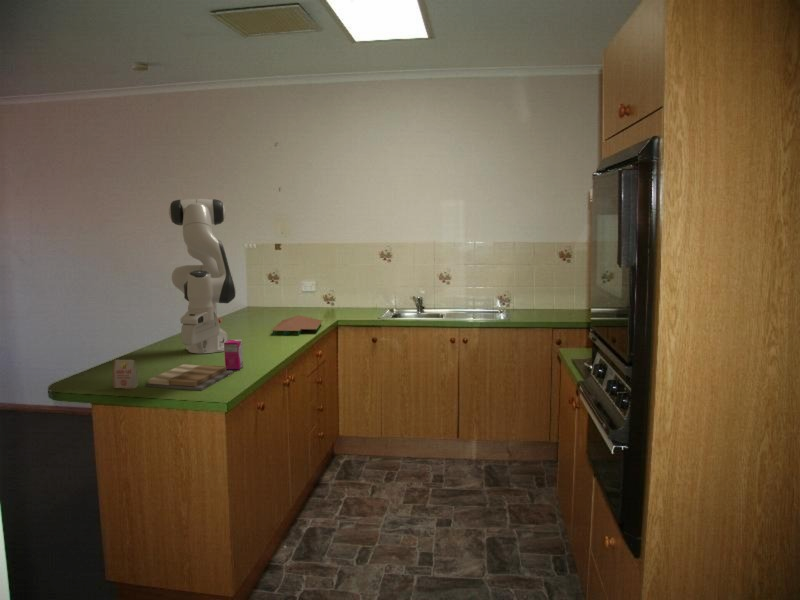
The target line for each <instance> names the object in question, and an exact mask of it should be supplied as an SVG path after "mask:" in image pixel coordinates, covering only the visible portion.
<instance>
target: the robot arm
mask: <svg viewBox="0 0 800 600" xmlns="http://www.w3.org/2000/svg"><path fill="white" fill-rule="evenodd" d="M223 203H224V202H223V201H222V200H219V199H210V198H190V199H176V200H172V202H171V203H170V205H169V208H168V216H169V218H170V220H171V223H173V225H174V224H175V225H176V226H182V237H183V242H184V243H185V245H186V250H187V253H188V255H189V256H190V257H191V258H194V259H195V260H198V261H199V262H201V263H202V264H194V265H192V264H189V265H187V264H186V265H182V266H177V267H175V268H174V269H173V271H172V273H171V281H172V284H173V286H174V287H175V288H176V289H178V290H180V291H181V292H182V293H183V294H184V297H183V298H184V300H186V301H187V302H188V305H187V311H186V313H184V315H183V316H181V317H180V324H182V325H181V330H180V331H181V335H180V336H181V342H182V345H183V346H186V347H185V350H187V351H188V352H189V353H190V354H191V353H192V354H212V353H222V352H224V343H225V342H226V341H228V340H229V339H228V338H229V337H228V333H227V332H226V331H225V330H224V329H222V327H220V324H222V322H223V321H222V318H219V317H218V316H217V313H218V312H217V311H218V309H217V303H218V304H229V303H230V302H232V301H233V300H234V299H235V298H236V294H237V289H236V284H235V282H234V280H233V279H234V278H233V272H232V271H231V269H230V267H229V265H230V264H229V262H228V258H227V255H226V254H227V253H226V252H225V248H224V245H223V243H222V241H221V240H219V239H217V238H216V236H215V235H214V230H213V229H214V228H213V225H214V226H217V225H220V224H222V223H223V222H224V221H225V218H226V211H227V210H226V207H225V206H224V204H223Z"/></svg>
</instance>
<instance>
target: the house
mask: <svg viewBox="0 0 800 600" xmlns="http://www.w3.org/2000/svg"><path fill="white" fill-rule="evenodd" d="M322 323H323V320H322V319H317V318H313V317H308V316H306V315H305V316H304V315H295V316H293V317H288V318H286V319H282V320H281V321H280V322H279V323H277V324H276V325H275V326H274V327H273V328H272V329H271V332H272V336H276V337H277V335H278V333H281V332H283V335H286V336H290V335H291V336H293V335H294V336H300V334H302V333H303V330H315V333H318V331H319V329H320V328H321V327H322ZM291 332H294V333H291Z"/></svg>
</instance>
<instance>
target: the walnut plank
mask: <svg viewBox="0 0 800 600" xmlns="http://www.w3.org/2000/svg"><path fill="white" fill-rule="evenodd" d="M201 365H202V366H200V367H198V368H196V369H194V370H191V371H189V372H187V373H185V374H183V375H181V376H178V377H176V378H174V379H172V380H170V381H169V382H170V385H183V386H197V385H199V384H201V383H203V382H205V381H206V380H208V379H210V378H212V377H214V376H216V375H218V374H220V373H222V372H224V371H226V366H225V365H224V366H222V365H221V366H220V365H206V364H205V365H203V364H201Z"/></svg>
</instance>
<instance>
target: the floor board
mask: <svg viewBox="0 0 800 600" xmlns="http://www.w3.org/2000/svg"><path fill="white" fill-rule="evenodd" d="M202 365H203V364H200V365H199V364H186V363H183V364H181V365H179V366H176V367H174V368H172V369H169V370H167V371H165V372H162V373H160V374H158V375H156V376H153V377H151V378H148V382H146V383H145V387H148V388H149V387H150V388H151V387H152V388H160V389H161V388H163V389H175V390H179V389H180V390H186V391H187V390H190V391H200V392H201V391H203V390H205V389H207V388H209V387H211V386H213V385H215V384H217V383H218V382H221V381H222V380H224V379H226V378H228V377H229V376H228V375H230V374H231V375H233V374H234V370H226V371H224V372H222V373H220V374H218V375H216V376H214V377H212V378H210V379H208V380H206V381H205V382H203V383H201V384H199V385H197V386H183V385H170V382H169V381H170V380H172V379H174V378H176V377H178V376H181V375H183V374H185V373H187V372H189V371H191V370H194V369H196V368H198V367H200V366H202ZM232 373H233V374H232ZM231 375H230V376H231ZM227 376H228V377H227ZM225 377H226V378H225ZM223 378H224V379H223ZM216 382H217V383H216Z"/></svg>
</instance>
